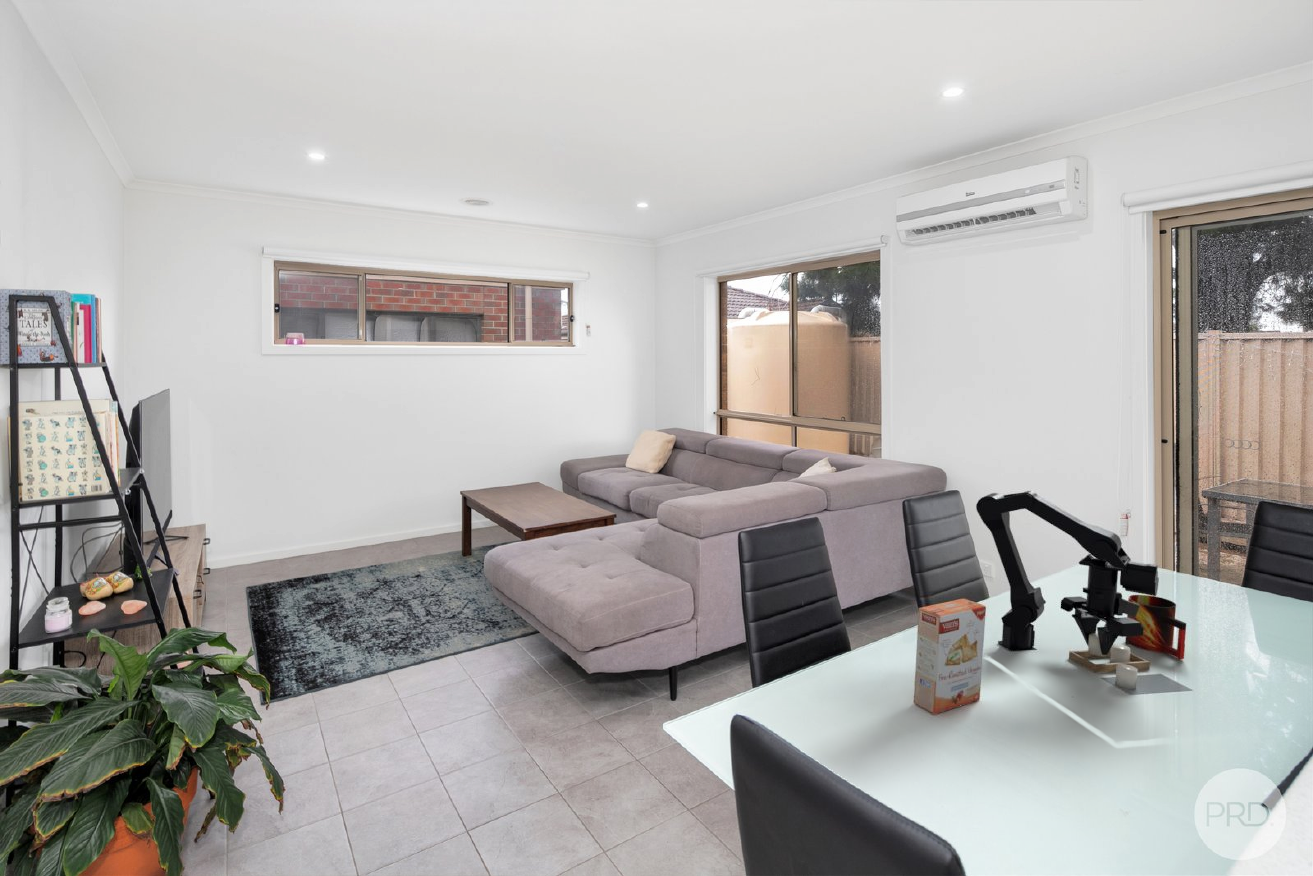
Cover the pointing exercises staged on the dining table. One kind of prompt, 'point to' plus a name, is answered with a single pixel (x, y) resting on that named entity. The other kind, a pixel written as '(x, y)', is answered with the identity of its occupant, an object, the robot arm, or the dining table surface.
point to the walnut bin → (1110, 667)
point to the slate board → (1151, 684)
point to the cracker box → (949, 654)
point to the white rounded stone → (1126, 676)
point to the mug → (1157, 626)
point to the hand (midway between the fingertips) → (1097, 651)
